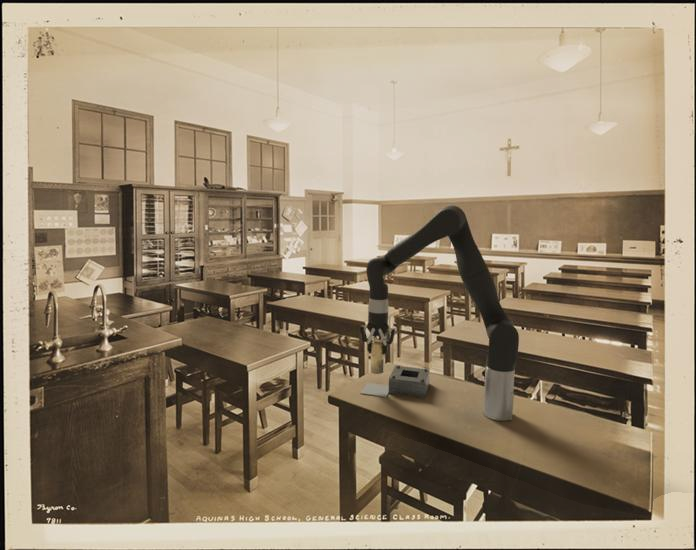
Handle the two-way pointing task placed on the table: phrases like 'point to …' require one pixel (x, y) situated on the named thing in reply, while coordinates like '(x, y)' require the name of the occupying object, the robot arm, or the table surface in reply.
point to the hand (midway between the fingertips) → (377, 353)
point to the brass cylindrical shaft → (377, 357)
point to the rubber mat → (375, 390)
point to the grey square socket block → (409, 381)
